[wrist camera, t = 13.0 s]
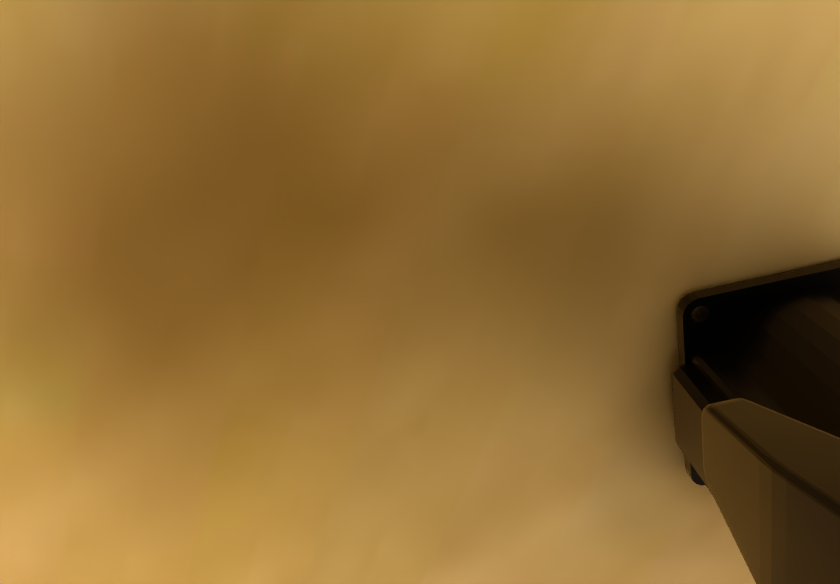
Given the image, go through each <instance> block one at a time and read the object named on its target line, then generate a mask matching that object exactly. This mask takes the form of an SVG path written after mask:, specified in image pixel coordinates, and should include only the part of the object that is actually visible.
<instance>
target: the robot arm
mask: <svg viewBox="0 0 840 584" xmlns="http://www.w3.org/2000/svg"><path fill="white" fill-rule="evenodd" d="M698 306H703V309H702V311H701V312H700V313H699V314H698V315H696V316H691V315H692V311H693V310H694V309H695V308H696V307H698ZM677 324H678V342H679V359H680V365H678V366H677V367H676V368H675V370H674V372H673V374H672V385H673V401H674V417H675V434H676V442H677V444H678V445H679V447H680V448H681V450H682V451H683V453H684V454H685V466H686V470H687V473H688V474H689V476H690V477H691V479H692V480H693V481H694V482H695V483H696V484H699V485H706V486H707V488H708V489H709V491H710V492H711V494H712V495H713V497H714V498H715V501H716V503H717V505H718V507H719V509H720V511H721V513H722V515H723V517H724V519H725V521H726V523H727V525H728V527H729V529H730V531H731V533H732V535H733V537H734V539H735V541H736V543H737V545H738V547H739V550H740V552H741V554H742V556H743V558H744V560H745V562H746V564H747V566H748V568H749V570H750V572H751V574H752V576H753V578H754V580H755V582H756V584H840V260H839V261H834V262H829V263H825V264H820V265H816V266H811V267H806V268H802V269H797V270H793V271H788V272H783V273H779V274H774V275H770V276H765V277H760V278H756V279H751V280H747V281H742V282H737V283H733V284H728V285H724V286H719V287H714V288H710V289H705V290H700V291H696V292H692V293H690V294H687V295H686V296H685V297H684V298H682V299H681V301H680V302H679V304H678V307H677Z"/></svg>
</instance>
